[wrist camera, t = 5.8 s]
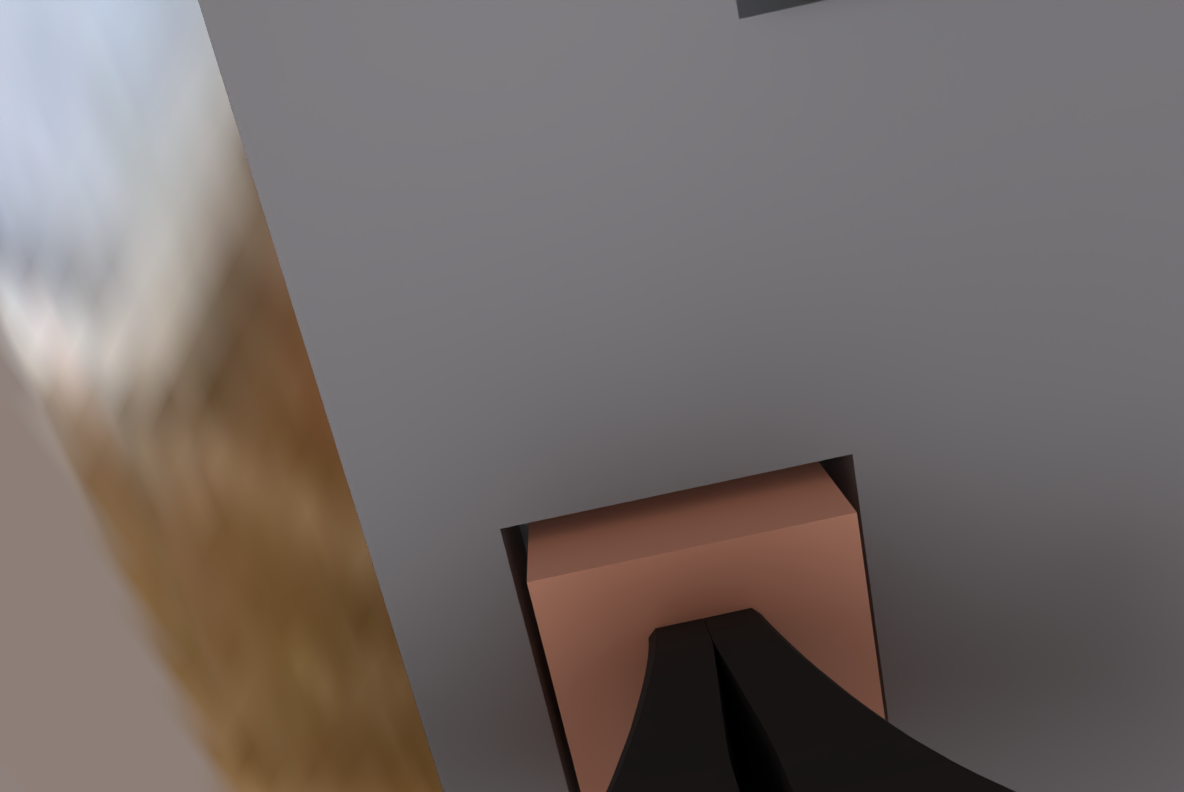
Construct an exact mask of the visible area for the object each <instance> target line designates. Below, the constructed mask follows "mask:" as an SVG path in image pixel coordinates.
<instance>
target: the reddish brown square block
mask: <svg viewBox="0 0 1184 792" xmlns="http://www.w3.org/2000/svg"><path fill="white" fill-rule="evenodd" d="M527 585H528V589H529V593H530V597H531V601H532V605H533V608H534V612H535V616H536V620H537V624H538V628H539V632H540V636H541V640H542V643H543V647H544V651H545V655H546V659H547V663H548V667H549V671H550V675H551V678H552V682H553V686H554V690H555V694H556V698H557V702H558V706H559V710H560V713H561V717H562V721H563V725H564V729H565V733H566V737H567V741H568V744H569V748H570V752H571V756H572V760H573V764H574V768H575V772H576V776H577V779H578V783H579V787H580V791H581V792H606V791H607V788H608V786H609V784H610V782H611V779H612V777H613V774H614V772H615V769H616V766H617V764H618V761H619V759H620V756H621V753H622V751H623V748H624V745H625V743H626V740H627V737H628V735H629V732H630V728H631V725H632V722H633V718H634V715H635V711H636V708H637V704H638V701H639V697H640V694H641V690H642V685H643V681H644V676H645V671H646V666H647V659H648V649H649V640H648V638H649V636H650V635H651V634H652V632H653V631H654V630H655V628H659V627H664V626H669V625H673V624H678V623H683V622H688V621H692V620H697V619H702V618H703V619H704V618H706V617H711V616H716V615H721V614H725V613H730V612H734V611H739V610H744V609H748V608H753V609H754V610H756V611H757V612H759V613H760V614H762V615H763V616H764V618H765V619H766V620H767V621H768V622H769V623H770V624H771V625H772V626H773V627H774V628H775V629H776V630H777V631H778V632H779V633H780V634H781V635H782V636H783V637H784V638H785V639H786V640H787V641H788V642H789V643H790V644H792V645H793V646H794V647H795V648H796V649H797V650H798V651H799V652H800V653H801V654H802V655H803V656H805V657H806V658H807V659H808V660H809V661H810V662H811V663H813V664H814V665H815V666H816V667H817V668H818V669H820V670H821V671H822V672H823V673H825V674H826V675H827V676H828V677H829V678H831V679H832V680H833V681H834V682H836V683H837V684H838V685H839V686H841V687H842V688H843V689H844V690H845V691H847V692H848V693H849V694H851V695H852V696H853V697H855V698H856V699H857V700H859V701H860V702H861V703H863V704H864V705H865V706H867V707H868V708H869V709H871V710H872V711H874V712H875V713H876V714H878V715H879V716H881V717H882V718H884V719H885V715H884V708H883V700H882V693H881V686H880V678H879V671H878V664H877V656H876V649H875V642H874V634H873V627H872V620H871V612H870V605H869V598H868V590H867V583H866V576H865V568H864V561H863V554H862V546H861V539H860V532H859V524H858V517H857V512H856V511H855V509H854V508H853V507H852V505H851V504H850V503H849V501H848V500H847V499H846V497H845V496H844V495H843V493H842V492H841V491H840V489H839V488H838V487H837V485H836V484H835V483H834V482H833V480H832V479H831V478H830V476H829V475H828V474H827V472H826V471H825V470H824V468H823V467H822V466H821V464H820V463H819V462H818V461H817V462H812V463H808V464H803V465H798V466H794V467H789V468H784V469H779V470H775V471H770V472H765V473H761V474H756V475H751V476H747V477H742V478H737V479H732V480H728V481H723V482H718V483H714V484H709V485H704V486H699V487H695V488H690V489H685V490H681V491H676V492H671V493H667V494H662V495H657V496H652V497H648V498H643V499H638V500H634V501H629V502H624V503H620V504H615V505H610V506H605V507H601V508H596V509H591V510H587V511H582V512H577V513H573V514H568V515H563V516H558V517H554V518H549V519H544V520H540V521H535V522H530V523H529V530H528V561H527Z"/></svg>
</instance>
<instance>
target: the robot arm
mask: <svg viewBox="0 0 1184 792" xmlns="http://www.w3.org/2000/svg"><path fill="white" fill-rule="evenodd" d="M648 640H649V649H648V659H647V666H646V671H645V676H644V681H643V685H642V690H641V694H640V697H639V701H638V704H637V708H636V711H635V715H634V718H633V722H632V725H631V728H630V732H629V735H628V737H627V740H626V743H625V745H624V748H623V751H622V753H621V756H620V759H619V761H618V764H617V766H616V769H615V772H614V774H613V777H612V779H611V782H610V784H609V786H608V788H607V791H606V792H1016V791H1013V790H1011V789H1009V788H1007V787H1005V786H1003V785H1000V784H998V783H996V782H994V781H992V780H989V779H987V778H985V777H983V776H981V775H979V774H977V773H975V772H973V771H971V770H969V769H967V768H965V767H963V766H961V765H959V764H957V763H955V762H953V761H951V760H950V759H948V758H946V757H945V756H943V755H941V754H939V753H938V752H936V751H934V750H932V749H931V748H929V747H927V746H925V745H924V744H922V743H920V742H918V741H917V740H915V739H914V738H912V737H910V736H909V735H907V734H906V733H904V732H903V731H901V730H900V729H898V728H897V727H895V726H894V725H892V724H891V723H889V722H888V721H886V720H885V719H884V718H882V717H881V716H879V715H878V714H876V713H875V712H874V711H872V710H871V709H869V708H868V707H867V706H865V705H864V704H863V703H861V702H860V701H859V700H857V699H856V698H855V697H853V696H852V695H851V694H849V693H848V692H847V691H845V690H844V689H843V688H842V687H841V686H839V685H838V684H837V683H836V682H834V681H833V680H832V679H831V678H829V677H828V676H827V675H826V674H825V673H823V672H822V671H821V670H820V669H818V668H817V667H816V666H815V665H814V664H813V663H811V662H810V661H809V660H808V659H807V658H806V657H805V656H803V655H802V654H801V653H800V652H799V651H798V650H797V649H796V648H795V647H794V646H793V645H792V644H790V643H789V642H788V641H787V640H786V639H785V638H784V637H783V636H782V635H781V634H780V633H779V632H778V631H777V630H776V629H775V628H774V627H773V626H772V625H771V624H770V623H769V622H768V621H767V620H766V619H765V618H764V616H763V615H762V614H760V613H759V612H757V611H756V610H754V609H753V608H748V609H744V610H739V611H734V612H730V613H725V614H721V615H716V616H711V617H706V618H704V619H703V618H702V619H697V620H692V621H688V622H683V623H678V624H673V625H669V626H664V627H659V628H655V630H654V631H653V632H652V634H651V635H650V636H649V638H648Z"/></svg>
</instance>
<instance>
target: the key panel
mask: <svg viewBox="0 0 1184 792" xmlns="http://www.w3.org/2000/svg"><path fill="white" fill-rule="evenodd" d="M198 2H199V5H200V8H201V11H202V14H203V18H204V21H205V24H206V27H207V31H208V34H209V37H210V40H211V44H212V47H213V50H214V53H215V56H216V60H217V63H218V66H219V69H220V73H221V76H222V79H223V82H224V85H225V89H226V92H227V95H228V98H229V102H230V105H231V108H232V111H233V114H234V118H235V121H236V124H237V127H238V131H239V134H240V137H241V140H242V143H243V147H244V150H245V153H246V156H247V160H248V163H249V166H250V169H251V173H252V176H253V179H254V182H255V185H256V189H257V192H258V195H259V198H260V202H261V205H262V208H263V211H264V214H265V218H266V221H267V224H268V227H269V231H270V234H271V237H272V240H273V243H274V247H275V250H276V253H277V256H278V260H279V263H280V266H281V269H282V272H283V276H284V279H285V282H286V285H287V289H288V292H289V295H290V298H291V302H292V305H293V308H294V311H295V314H296V318H297V321H298V324H299V327H300V331H301V334H302V337H303V340H304V343H305V347H306V350H307V353H308V356H309V360H310V363H311V366H312V369H313V372H314V376H315V379H316V382H317V385H318V389H319V392H320V395H321V398H322V402H323V405H324V408H325V411H326V414H327V418H328V421H329V424H330V427H331V431H332V434H333V437H334V440H335V443H336V447H337V450H338V453H339V456H340V460H341V463H342V466H343V469H344V472H345V476H346V479H347V482H348V485H349V489H350V492H351V495H352V498H353V501H354V505H355V508H356V511H357V514H358V518H359V521H360V524H361V527H362V531H363V534H364V537H365V540H366V543H367V547H368V550H369V553H370V556H371V560H372V563H373V566H374V569H375V572H376V576H377V579H378V582H379V585H380V589H381V592H382V595H383V598H384V601H385V605H386V608H387V611H388V614H389V618H390V621H391V624H392V627H393V631H394V634H395V637H396V640H397V643H398V647H399V650H400V653H401V656H402V660H403V663H404V666H405V669H406V672H407V676H408V679H409V682H410V685H411V689H412V692H413V695H414V698H415V701H416V705H417V708H418V711H419V714H420V718H421V721H422V724H423V727H424V730H425V734H426V737H427V740H428V743H429V747H430V750H431V753H432V756H433V760H434V763H435V766H436V769H437V772H438V776H439V779H440V782H441V785H442V789H443V792H581V791H580V787H579V783H578V779H577V776H576V772H575V768H574V764H573V760H572V756H571V752H570V748H569V744H568V741H567V737H566V733H565V729H564V725H563V721H562V717H561V713H560V710H559V706H558V702H557V698H556V694H555V690H554V686H553V682H552V678H551V675H550V671H549V667H548V663H547V659H546V655H545V651H544V647H543V643H542V640H541V636H540V632H539V628H538V624H537V620H536V616H535V612H534V608H533V605H532V601H531V597H530V593H529V589H528V585H527V561H528V530H529V523H530V522H535V521H540V520H544V519H549V518H554V517H558V516H563V515H568V514H573V513H577V512H582V511H587V510H591V509H596V508H601V507H605V506H610V505H615V504H620V503H624V502H629V501H634V500H638V499H643V498H648V497H652V496H657V495H662V494H667V493H671V492H676V491H681V490H685V489H690V488H695V487H699V486H704V485H709V484H714V483H718V482H723V481H728V480H732V479H737V478H742V477H747V476H751V475H756V474H761V473H765V472H770V471H775V470H779V469H784V468H789V467H794V466H798V465H803V464H808V463H812V462H817V461H818V462H819V463H820V464H821V466H822V467H823V468H824V470H825V471H826V472H827V474H828V475H829V476H830V478H831V479H832V480H833V482H834V483H835V484H836V485H837V487H838V488H839V489H840V491H841V492H842V493H843V495H844V496H845V497H846V499H847V500H848V501H849V503H850V504H851V505H852V507H853V508H854V509H855V511H856V512H857V517H858V524H859V532H860V539H861V546H862V554H863V561H864V568H865V576H866V583H867V590H868V598H869V605H870V612H871V620H872V627H873V634H874V642H875V649H876V656H877V664H878V671H879V678H880V686H881V693H882V700H883V708H884V715H885V720H886V721H888V722H889V723H891V724H892V725H894V726H895V727H897V728H898V729H900V730H901V731H903V732H904V733H906V734H907V735H909V736H910V737H912V738H914V739H915V740H917V741H918V742H920V743H922V744H924V745H925V746H927V747H929V748H931V749H932V750H934V751H936V752H938V753H939V754H941V755H943V756H945V757H946V758H948V759H950V760H951V761H953V762H955V763H957V764H959V765H961V766H963V767H965V768H967V769H969V770H971V771H973V772H975V773H977V774H979V775H981V776H983V777H985V778H987V779H989V780H992V781H994V782H996V783H998V784H1000V785H1003V786H1005V787H1007V788H1009V789H1011V790H1013V791H1016V792H1184V0H198Z"/></svg>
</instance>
